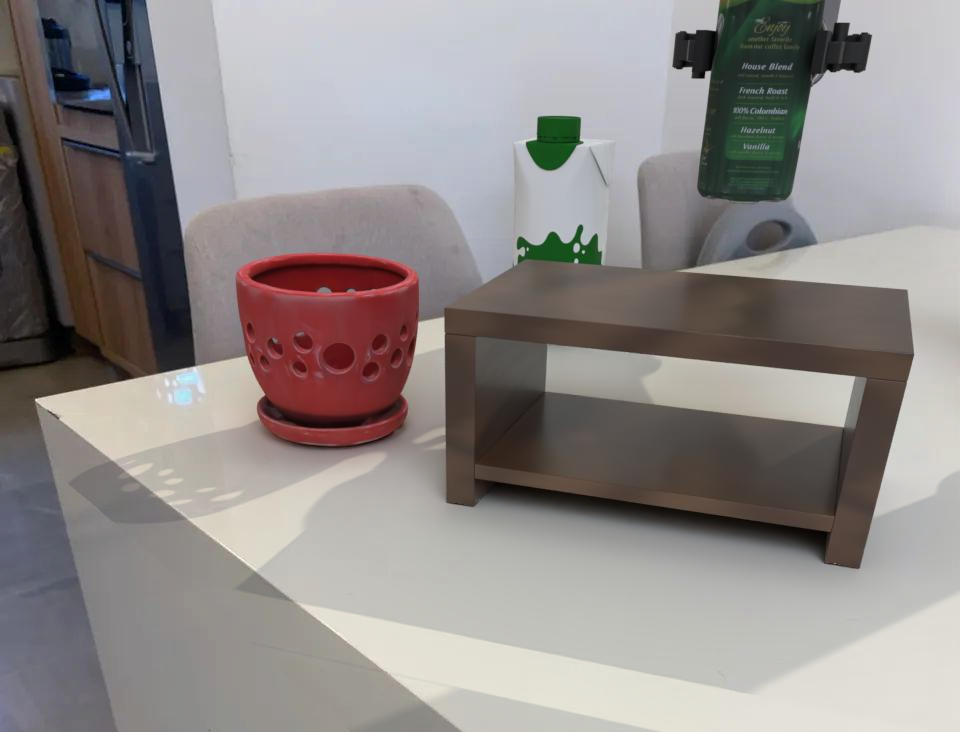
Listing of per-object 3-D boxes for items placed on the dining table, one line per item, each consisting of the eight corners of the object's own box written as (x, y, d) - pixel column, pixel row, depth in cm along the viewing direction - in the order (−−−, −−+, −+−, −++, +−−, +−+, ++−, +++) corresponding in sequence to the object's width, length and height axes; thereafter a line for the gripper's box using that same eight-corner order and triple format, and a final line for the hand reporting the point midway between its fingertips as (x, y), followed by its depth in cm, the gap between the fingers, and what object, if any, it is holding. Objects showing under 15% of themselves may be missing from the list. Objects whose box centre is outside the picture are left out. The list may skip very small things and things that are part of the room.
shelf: (863, 470, 68) (907, 289, 61) (859, 568, 55) (914, 353, 48) (519, 425, 75) (525, 258, 68) (445, 502, 62) (443, 307, 56)
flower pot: (228, 454, 69) (204, 283, 63) (284, 398, 80) (268, 247, 74) (403, 465, 68) (397, 291, 61) (435, 406, 79) (433, 254, 72)
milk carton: (500, 338, 97) (504, 116, 86) (533, 319, 104) (541, 111, 93) (581, 349, 94) (596, 120, 83) (609, 328, 101) (626, 114, 90)
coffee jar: (796, 208, 75) (845, -86, 65) (694, 204, 76) (727, -84, 66) (788, 192, 83) (831, -72, 73) (696, 189, 84) (726, -70, 74)
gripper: (893, 100, 87) (895, 113, 69) (669, 95, 93) (616, 106, 75) (914, 2, 83) (921, -11, 65) (678, 3, 89) (624, -9, 71)
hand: (757, 51), depth 70 cm, fingers closed on coffee jar, 8 cm apart
